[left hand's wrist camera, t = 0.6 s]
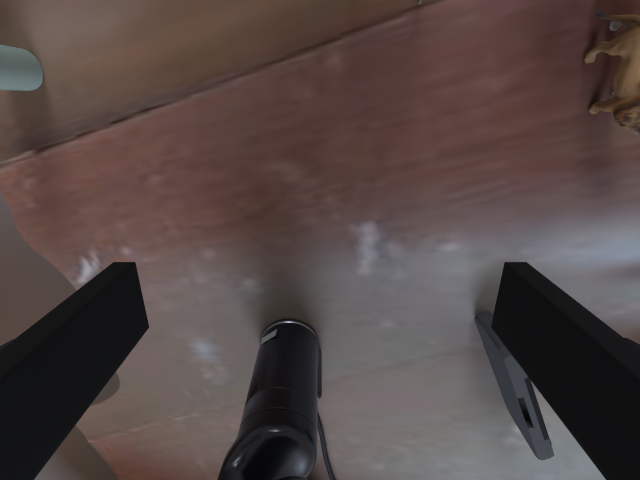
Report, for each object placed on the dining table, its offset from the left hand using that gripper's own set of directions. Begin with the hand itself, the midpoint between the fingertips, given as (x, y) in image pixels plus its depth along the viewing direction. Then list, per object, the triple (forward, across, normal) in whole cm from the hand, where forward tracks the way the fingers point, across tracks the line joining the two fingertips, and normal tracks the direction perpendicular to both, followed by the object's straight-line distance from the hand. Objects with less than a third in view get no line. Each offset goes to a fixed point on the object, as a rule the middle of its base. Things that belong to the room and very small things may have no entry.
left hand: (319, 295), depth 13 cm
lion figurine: (+36, +35, +9) cm, 51 cm away
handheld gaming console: (+36, +30, -34) cm, 57 cm away
